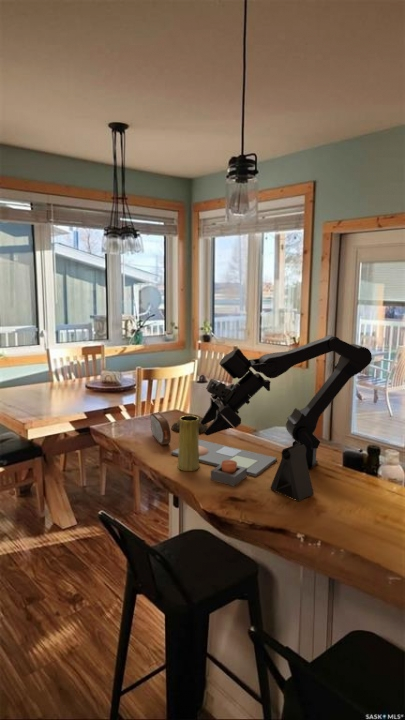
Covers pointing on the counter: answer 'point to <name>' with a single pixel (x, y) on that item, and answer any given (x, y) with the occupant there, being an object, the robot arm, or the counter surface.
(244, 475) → the button housing
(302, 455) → the phone stand
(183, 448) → the vase
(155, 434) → the tin
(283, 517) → the counter surface
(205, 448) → the picture board
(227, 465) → the button
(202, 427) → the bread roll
